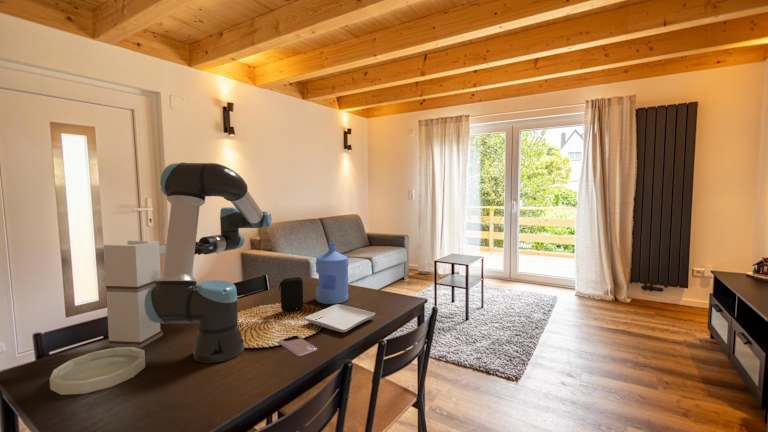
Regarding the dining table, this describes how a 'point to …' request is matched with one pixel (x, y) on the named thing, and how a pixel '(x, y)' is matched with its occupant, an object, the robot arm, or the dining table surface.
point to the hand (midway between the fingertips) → (163, 252)
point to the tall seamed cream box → (131, 292)
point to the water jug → (332, 277)
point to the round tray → (97, 370)
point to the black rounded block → (291, 294)
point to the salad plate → (340, 317)
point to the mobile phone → (297, 345)
